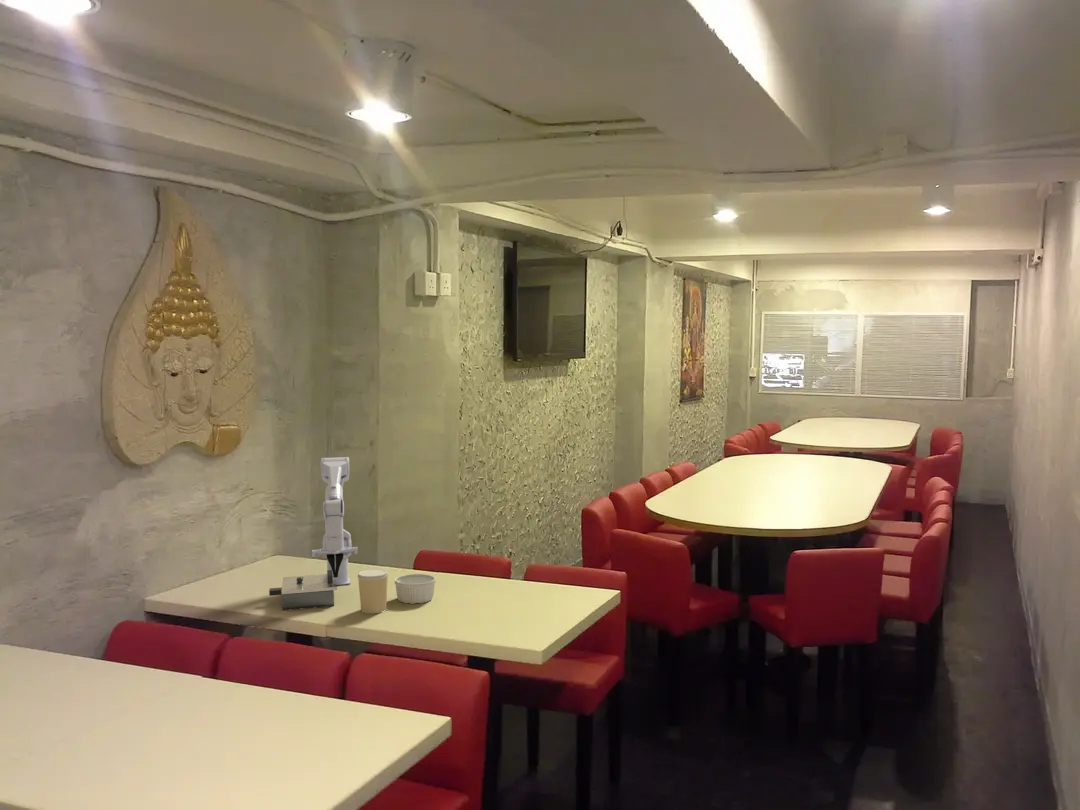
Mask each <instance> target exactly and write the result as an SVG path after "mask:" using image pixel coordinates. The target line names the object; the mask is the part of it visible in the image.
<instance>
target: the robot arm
mask: <svg viewBox="0 0 1080 810" xmlns="http://www.w3.org/2000/svg"><path fill="white" fill-rule="evenodd" d="M320 475H321V479H322V481H323V482H324V483H327V484H328V485H327V486H326V487H325V493H324V495H325V496H324V501H323V503H322V511H323V512H322V513H323V519H324V523H325V525H324V526H325V528H324V530H325V531H324V532H325V533H324V534H323V536H322V548H319V549H312V550H311V557H312V558H316V557H324V558H325V559H326V571H327V570H332V574H333V576H334V577H336V582H337V586H343V585H351V581H350V575H349V557H350V556H351V555H358V554H359V553H358V552H359V551H358V546H352V537H351V536H352V535H351V533H350V532H349V531H348V530H346V529H344V516H345V502H344V496H343V495H344V489H343V488H344V484H345V482H348V481H349V480H350V479H349V478H350V457H349V456H346V457H345V456H343V457H341V456H340V457H337V456H336V457H321V459H320Z"/></svg>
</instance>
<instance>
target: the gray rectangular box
mask: <svg viewBox="0 0 1080 810" xmlns="http://www.w3.org/2000/svg"><path fill="white" fill-rule="evenodd" d="M281 591H282V586H281V587H270V588H269V591H268V593H269V597H272V596H281V610H282V611H289V609H293V610H301V609H300V608H305V609H314V608H313V607H317V608H326V606H329V607H335V592H334V591H335V590H330V591H317V592H305V593H292V594H282V593H281Z"/></svg>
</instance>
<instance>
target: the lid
mask: <svg viewBox="0 0 1080 810" xmlns="http://www.w3.org/2000/svg"><path fill="white" fill-rule="evenodd" d="M326 572H327V573H323V574H309V575H298V576H296V575H295V576H287V577H286V576H283V578H282V585H281V587H282V591H281V593H282V594H292V593H305V592H317V591H330V590H334V591H337V590H338V585H337V582H336V577H334V576H333V574H332V570H327V569H326Z"/></svg>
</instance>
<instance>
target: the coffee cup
mask: <svg viewBox="0 0 1080 810" xmlns="http://www.w3.org/2000/svg"><path fill="white" fill-rule="evenodd" d="M388 577H389V573H388V571H387V570H385V569H382V568H381V569H380V568H371V569H365V570H362V571H359V573H358V575H357V579H358V591H359V602H360V609H361V610H360V611H361V613H363V612H365V613H364V614H366V613H377V614H379V613H378V612H381V613H383V612H382V611H384V610H385V611H386V610H387V601H388V582H389V581H388V579H389V578H388ZM385 611H384V612H385Z"/></svg>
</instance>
